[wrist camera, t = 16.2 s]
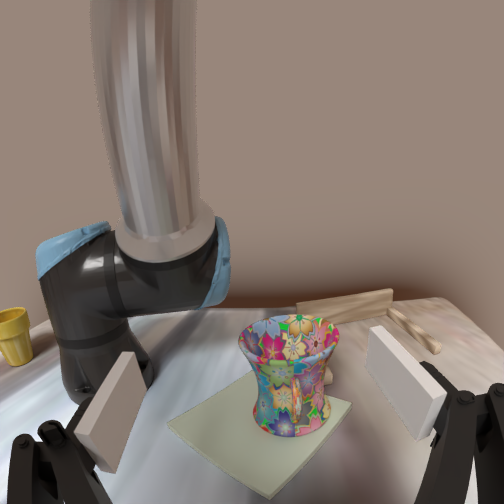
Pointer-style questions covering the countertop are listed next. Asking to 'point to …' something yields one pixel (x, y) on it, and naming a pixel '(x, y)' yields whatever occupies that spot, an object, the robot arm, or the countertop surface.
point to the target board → (250, 438)
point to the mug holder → (364, 315)
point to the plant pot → (15, 336)
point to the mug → (290, 371)
